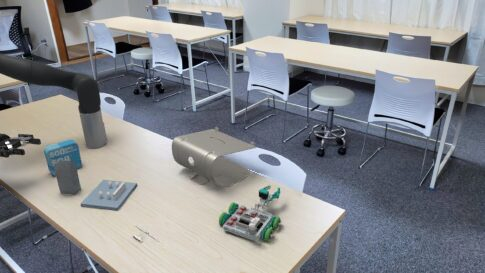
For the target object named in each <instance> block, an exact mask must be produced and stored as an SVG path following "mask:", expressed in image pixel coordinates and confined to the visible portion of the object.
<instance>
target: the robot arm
mask: <svg viewBox="0 0 485 273" xmlns="http://www.w3.org/2000/svg"><path fill="white" fill-rule="evenodd" d="M0 75H3V76H5V77H8V78H10V79H13V80H16V81H19V82H22V83H26V84H31V85H36V86H40V87H41V86H43V87H44V86H45V87H49V86H50V87H60V88H62V89H63V88H64V89H67V90H70V91H71V92H75V93H76V94H77V100H78V108H77V109H78V113H79V118H80V123H81V126H82V132H83V137H84V143H85V146H86V148H87V149H99V148H102V147H104V146H106V145H107V141H108V137H107V132H106V131H107V130H106V126H105V123H104V121H103V115H102V109H101V108H102V107H101V104H102V103H101V102H102V101H101V94H100V93H101V92H100V89H99V88H100V87H99V83H98V82H97V80H95V79H94V78H93V77H92V76H90V75H89V74H85V73H79V72H74V71H68V70H63V69H59V68H58V67H54V66H52V65H49V64H46V63H42V62H39V61H35V60H31V59H28V58H27V59H26V58H24V57H23V58H22V57H19V56H13V55H7V54H3V53H0ZM21 142H22V143H21ZM41 144H42V141H41V139H40V138H36V137H35V138H34V134H25V133H18V134H17V137H11V136H9V135H8V134H6V133H0V158H6V159H8V158H10V156H25V155H26V150H25V149H24V148H22V147H26V146H27V145H37V146H40V145H41Z"/></svg>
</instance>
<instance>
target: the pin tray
mask: <svg viewBox="0 0 485 273" xmlns="http://www.w3.org/2000/svg"><path fill="white" fill-rule="evenodd" d="M137 187H138V183H137V182H129V181H119V180H110V179H102V180H101V182H100V183H99V184H98V185H97V186H95V187H94V189H93V190H92V191H91V192H90V193H89V194H88V195H87V196H86V197H85V198H84V199H83V200H82V201H81V202H80V207H82V208H83V207H84V208H90V209H98V210H99V209H100V210H110V211H116V212H117V211H119V210H120V208H122V206H123V205H124V203H125V202H126V201H127V199H128V198H129V197H130V196H131V194H132V193H134V191H135V189H136V188H137Z"/></svg>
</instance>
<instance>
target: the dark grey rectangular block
mask: <svg viewBox="0 0 485 273" xmlns="http://www.w3.org/2000/svg"><path fill="white" fill-rule="evenodd" d="M54 170H55V174H56V176H55V177H56V181H57V186H58V188H59V193H60V194H61V195H67V196H68V195H69V196H76V195H77V194H78V193H79V192H80V191H82V187H81V182H80V178H79V174H78V169H77V168H76V164H75V162H71V161H61V160H60V161H59V162H58V163H56V164H55V165H54Z"/></svg>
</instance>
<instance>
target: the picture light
mask: <svg viewBox="0 0 485 273" xmlns="http://www.w3.org/2000/svg"><path fill="white" fill-rule="evenodd" d="M133 226H134V227H135V228H137V229H138V230H140V231H141V234H139V235H136V234H134V235H133V236H132V238H135V239H137V241H139V242H140V243H143V242H144V241H143V239H142V236H143V234H146V235H147V234H148V235H147V236H148V237H150V238H152V239H153V240H155V241H156V240H157V241H156V242H157V243H159V242H160V244H162V241H161V240H160V239H158V238H157V237H155V236H153V235H152V234H151V233H149V232H148V231H146V230H145V229H144V228H141V227H140V226H139V225H138V224H133Z"/></svg>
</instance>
